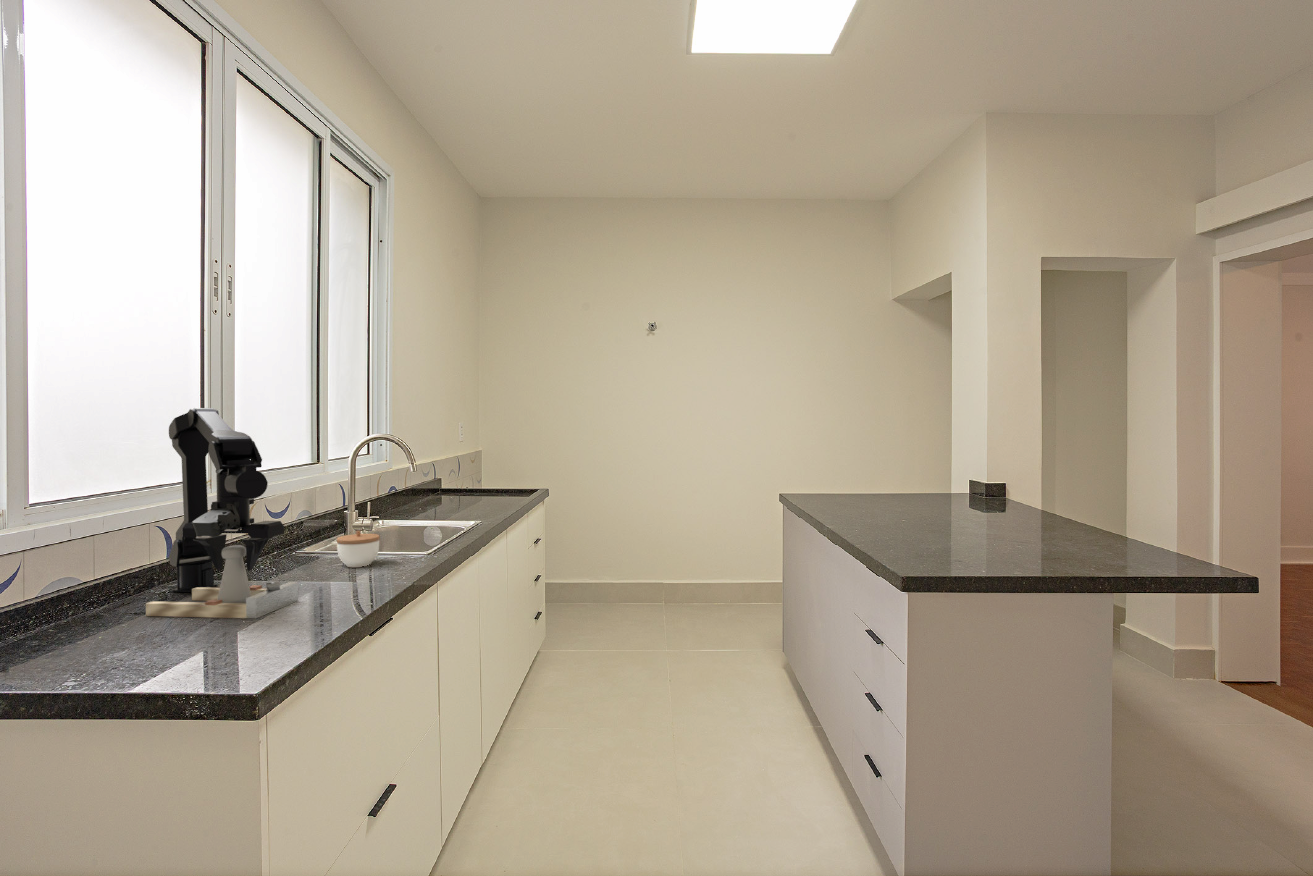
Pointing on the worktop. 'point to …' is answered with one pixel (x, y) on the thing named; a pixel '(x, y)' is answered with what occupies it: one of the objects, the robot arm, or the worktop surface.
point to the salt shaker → (234, 576)
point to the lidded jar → (358, 549)
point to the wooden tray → (253, 608)
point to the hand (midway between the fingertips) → (234, 570)
